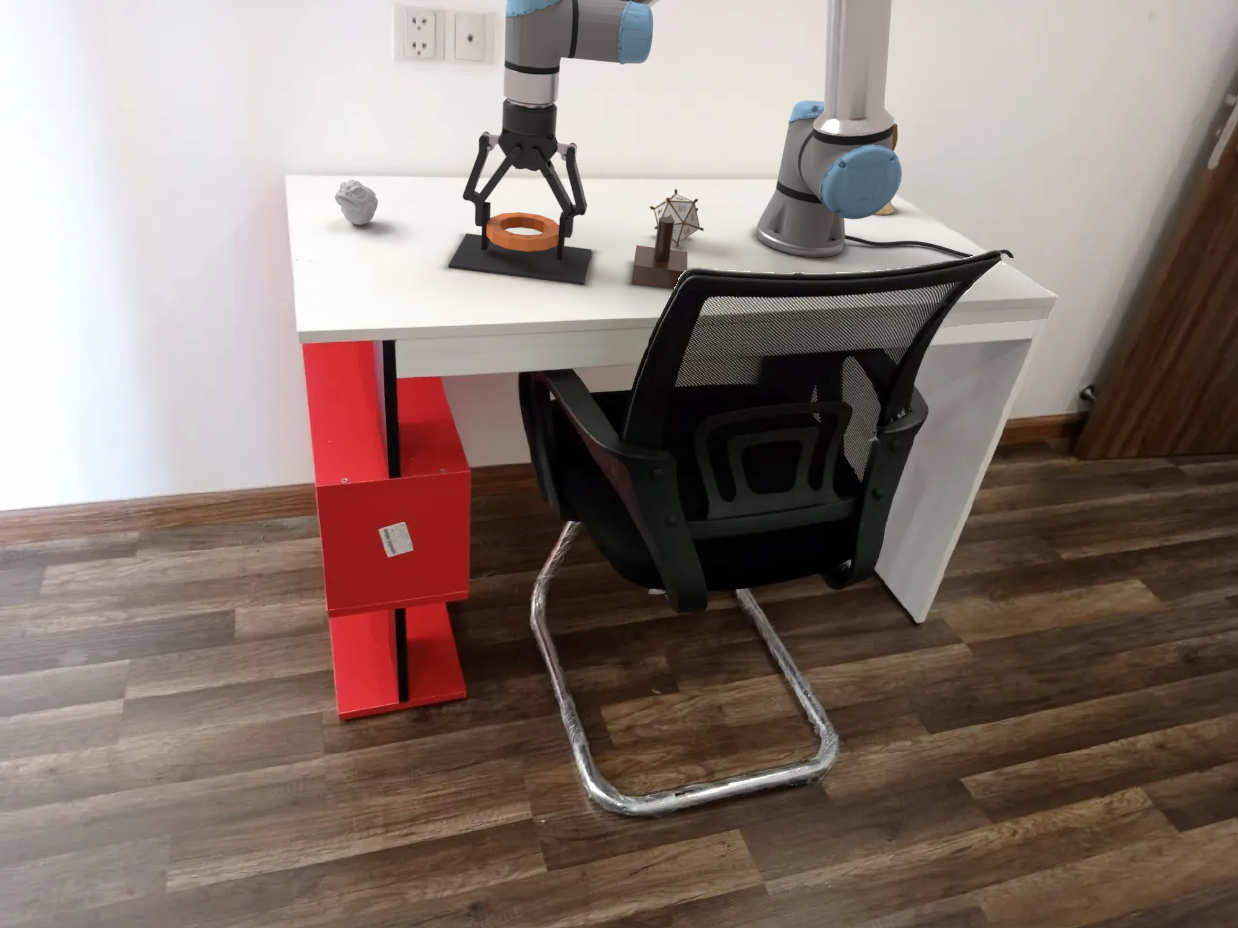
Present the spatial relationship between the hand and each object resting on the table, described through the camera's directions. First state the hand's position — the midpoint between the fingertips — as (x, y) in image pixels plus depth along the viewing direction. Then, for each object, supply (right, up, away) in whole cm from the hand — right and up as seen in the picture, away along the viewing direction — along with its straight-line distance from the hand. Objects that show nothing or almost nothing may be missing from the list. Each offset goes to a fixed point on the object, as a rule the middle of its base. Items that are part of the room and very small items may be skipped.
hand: (522, 251), depth 138 cm
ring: (0, +2, -1) cm, 2 cm away
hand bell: (+65, +18, +40) cm, 78 cm away
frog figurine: (-27, +5, +5) cm, 28 cm away
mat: (0, -1, +1) cm, 1 cm away
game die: (+24, +5, +14) cm, 28 cm away
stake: (+21, -4, +1) cm, 21 cm away
